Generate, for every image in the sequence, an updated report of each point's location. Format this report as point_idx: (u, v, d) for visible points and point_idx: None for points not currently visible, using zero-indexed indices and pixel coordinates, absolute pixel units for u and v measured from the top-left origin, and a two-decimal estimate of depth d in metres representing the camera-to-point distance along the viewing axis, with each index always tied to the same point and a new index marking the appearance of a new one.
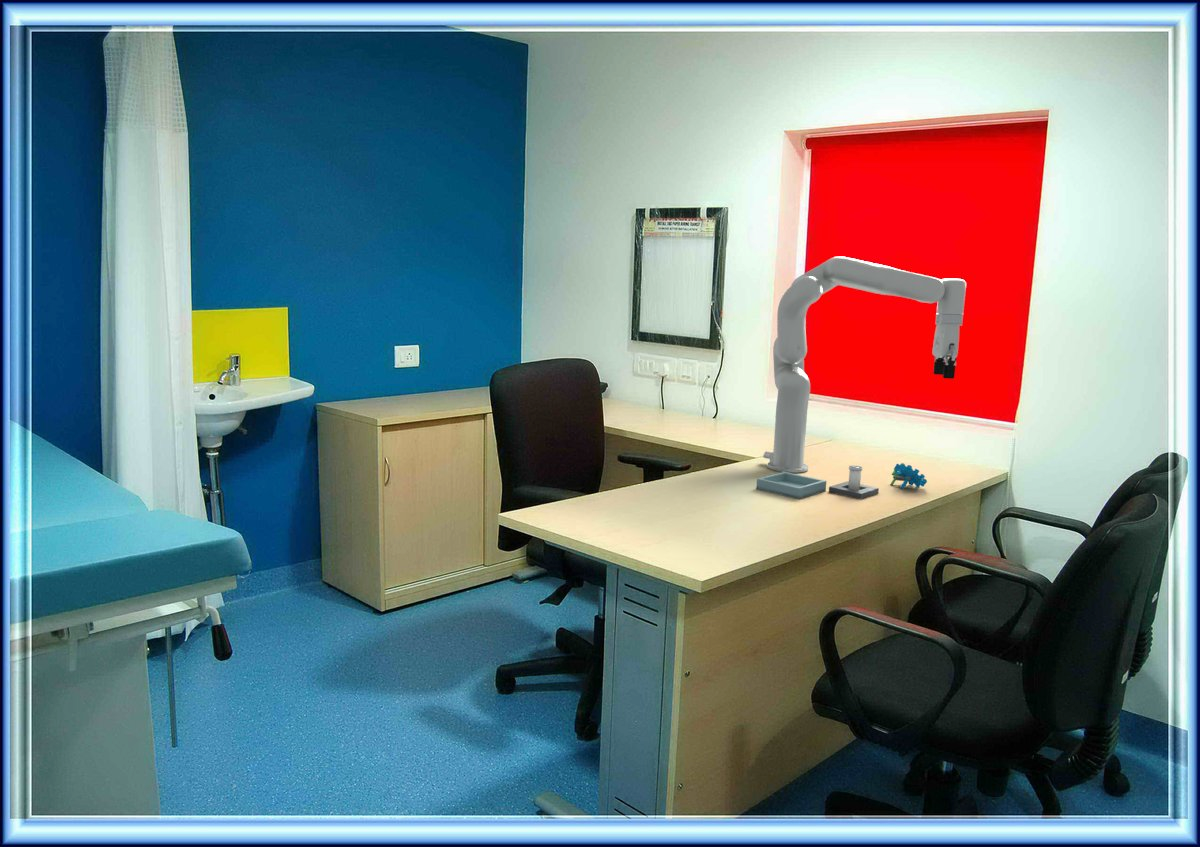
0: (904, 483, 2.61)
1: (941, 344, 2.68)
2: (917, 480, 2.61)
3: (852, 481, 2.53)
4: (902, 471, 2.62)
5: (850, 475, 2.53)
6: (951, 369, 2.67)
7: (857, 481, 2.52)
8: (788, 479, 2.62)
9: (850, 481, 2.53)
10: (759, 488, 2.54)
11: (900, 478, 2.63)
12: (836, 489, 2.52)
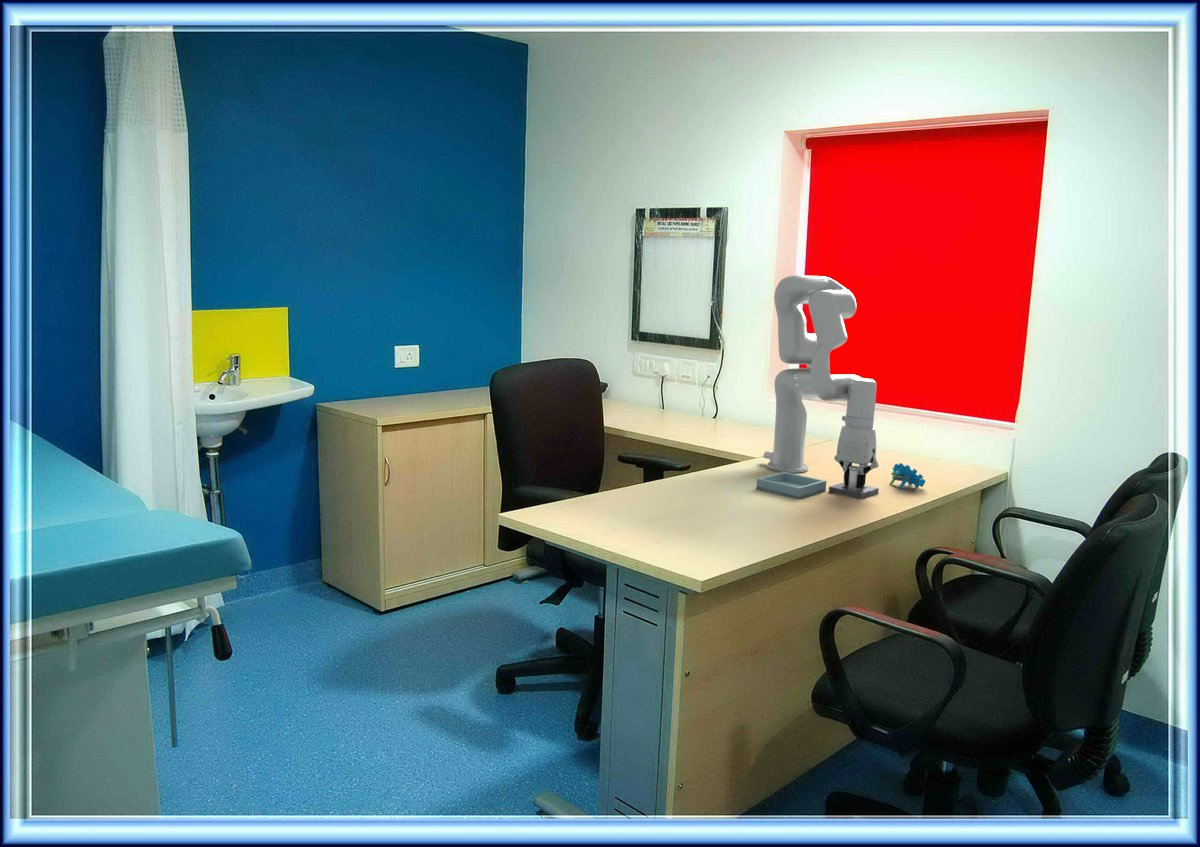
0: (902, 483, 2.61)
1: (864, 450, 2.48)
2: (916, 480, 2.61)
3: (852, 481, 2.53)
4: (901, 471, 2.62)
5: (850, 475, 2.53)
6: (864, 478, 2.52)
7: None
8: (788, 479, 2.62)
9: (850, 481, 2.53)
10: (759, 488, 2.54)
11: (899, 478, 2.63)
12: (836, 489, 2.52)
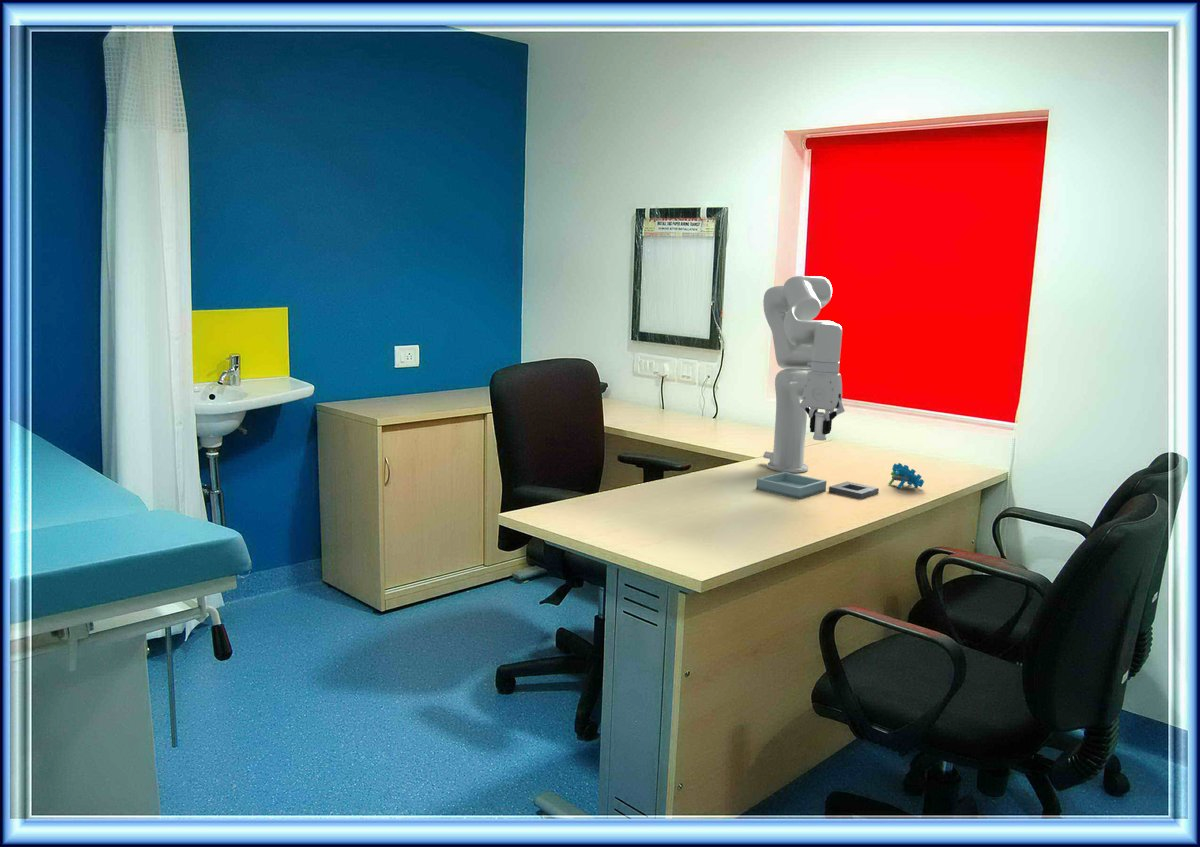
0: (901, 483, 2.61)
1: (830, 395, 2.45)
2: (914, 480, 2.60)
3: (818, 427, 2.50)
4: (900, 471, 2.62)
5: (816, 421, 2.51)
6: (830, 424, 2.50)
7: None
8: (788, 479, 2.62)
9: (816, 427, 2.51)
10: (759, 488, 2.54)
11: (898, 478, 2.63)
12: (836, 489, 2.52)
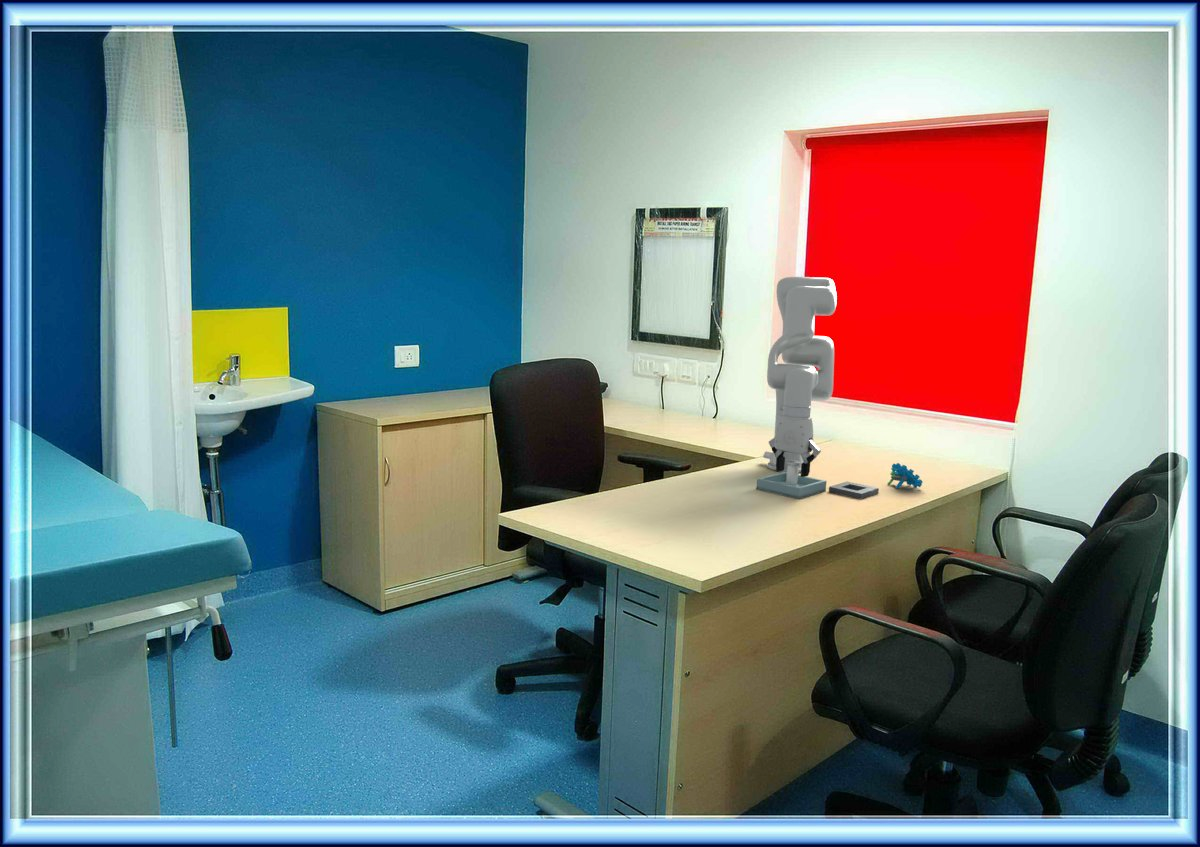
0: (899, 483, 2.61)
1: (801, 440, 2.48)
2: (913, 480, 2.60)
3: (789, 476, 2.53)
4: (899, 471, 2.62)
5: (787, 470, 2.53)
6: (809, 466, 2.50)
7: (794, 476, 2.52)
8: None
9: (788, 476, 2.53)
10: (759, 488, 2.54)
11: (897, 478, 2.63)
12: (836, 489, 2.52)
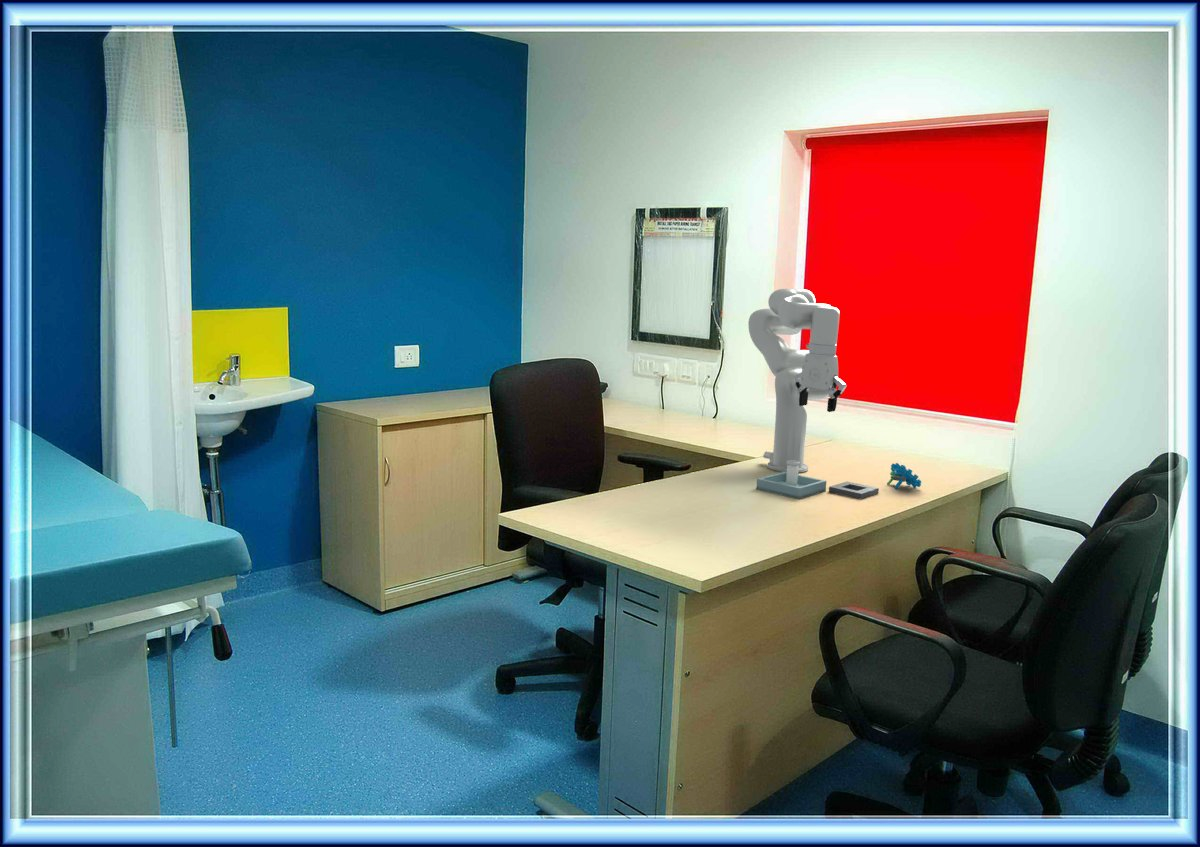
0: (898, 483, 2.61)
1: (825, 377, 2.54)
2: (912, 480, 2.60)
3: (789, 476, 2.53)
4: (898, 471, 2.62)
5: (787, 470, 2.53)
6: (835, 402, 2.56)
7: (794, 476, 2.52)
8: None
9: (788, 476, 2.53)
10: (759, 488, 2.54)
11: (896, 478, 2.63)
12: (836, 489, 2.52)
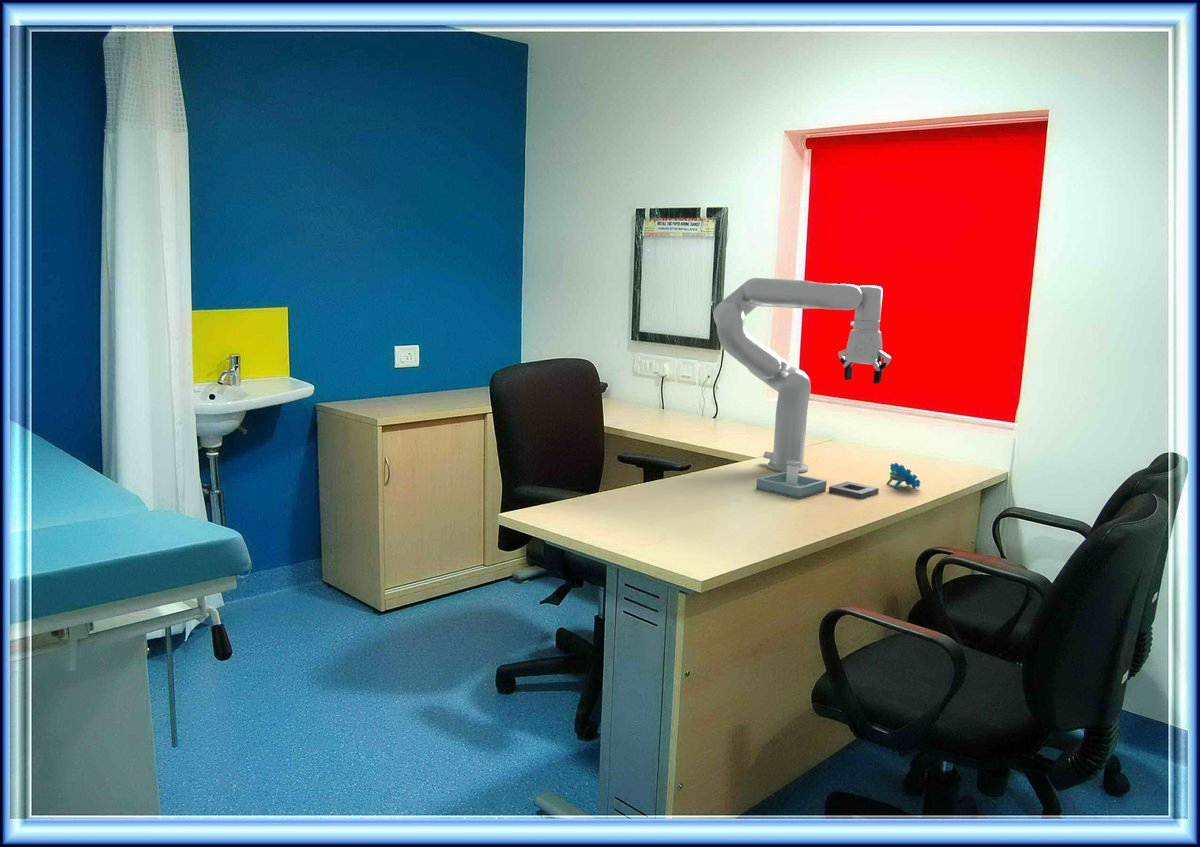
0: (897, 483, 2.61)
1: (871, 351, 2.71)
2: (911, 480, 2.60)
3: (789, 476, 2.53)
4: (897, 471, 2.62)
5: (787, 470, 2.53)
6: (880, 374, 2.73)
7: (794, 476, 2.52)
8: None
9: (788, 476, 2.53)
10: (759, 488, 2.54)
11: (895, 478, 2.63)
12: (836, 489, 2.52)
